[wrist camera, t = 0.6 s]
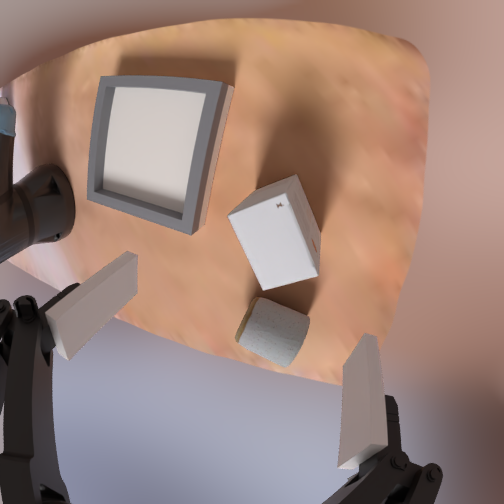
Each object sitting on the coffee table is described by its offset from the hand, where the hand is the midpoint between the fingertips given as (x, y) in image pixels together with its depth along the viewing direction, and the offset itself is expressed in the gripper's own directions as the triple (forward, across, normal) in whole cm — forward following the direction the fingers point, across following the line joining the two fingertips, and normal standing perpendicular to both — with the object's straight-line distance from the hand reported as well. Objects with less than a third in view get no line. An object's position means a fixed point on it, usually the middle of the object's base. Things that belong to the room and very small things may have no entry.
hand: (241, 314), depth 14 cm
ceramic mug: (+21, +3, -16) cm, 27 cm away
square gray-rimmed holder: (+21, -19, +4) cm, 28 cm away
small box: (+21, 0, 0) cm, 21 cm away
